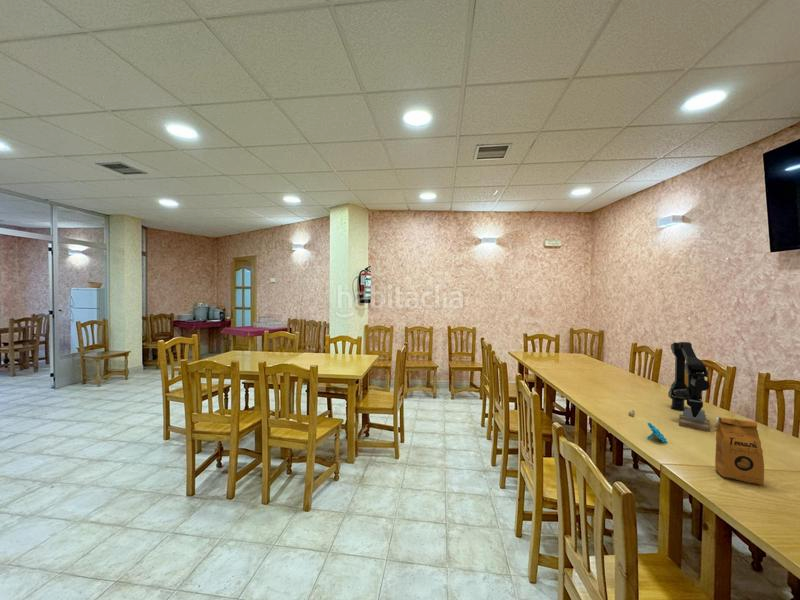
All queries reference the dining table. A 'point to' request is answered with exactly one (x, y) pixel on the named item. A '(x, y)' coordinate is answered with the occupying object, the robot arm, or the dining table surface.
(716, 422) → the cream thin sliver
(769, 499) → the dining table surface
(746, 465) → the coffee package
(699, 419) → the housing
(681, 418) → the stand
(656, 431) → the blue t-shaped bar
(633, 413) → the loose bolt
